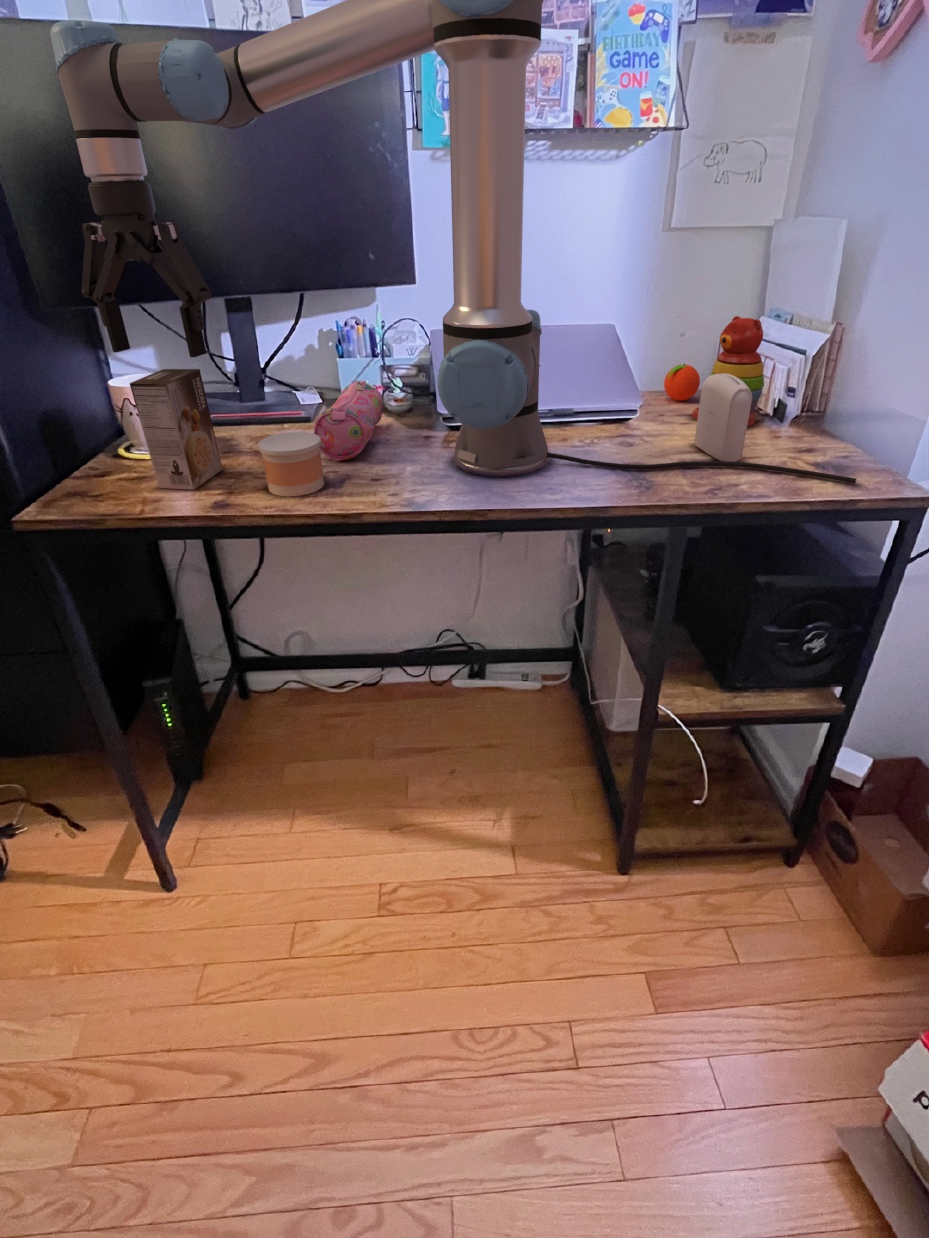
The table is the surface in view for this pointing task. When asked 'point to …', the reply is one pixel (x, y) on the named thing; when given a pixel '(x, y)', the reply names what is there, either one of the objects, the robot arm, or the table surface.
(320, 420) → the pencil case
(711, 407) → the photo printer
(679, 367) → the clementine
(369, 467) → the table surface
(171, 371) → the coffee box
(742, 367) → the stacking bear
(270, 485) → the yogurt pot
